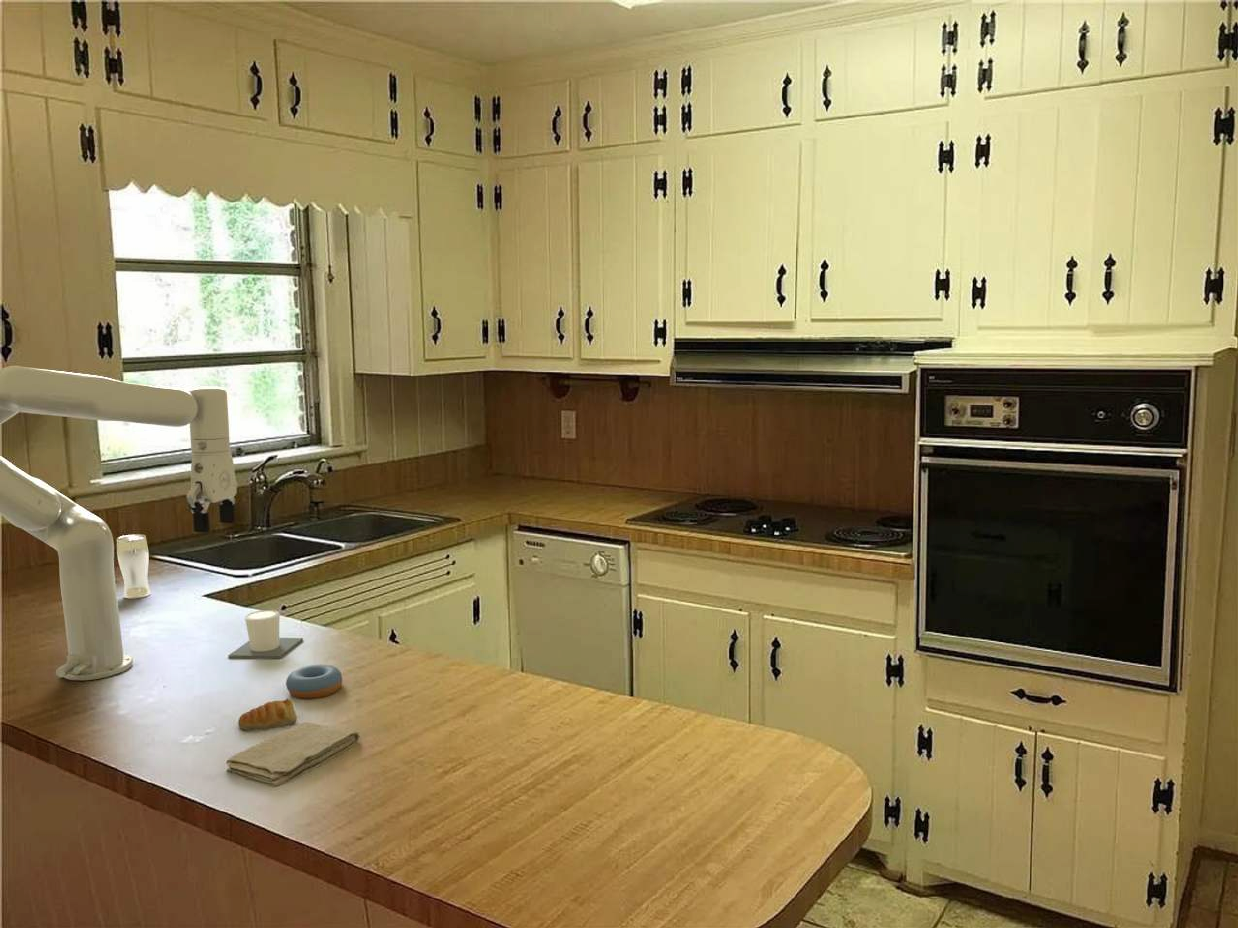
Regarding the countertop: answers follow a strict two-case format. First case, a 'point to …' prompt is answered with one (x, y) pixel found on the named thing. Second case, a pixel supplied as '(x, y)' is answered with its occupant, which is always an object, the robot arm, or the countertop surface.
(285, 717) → the pastry
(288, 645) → the mat
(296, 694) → the doughnut
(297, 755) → the washcloth
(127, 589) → the beer glass
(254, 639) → the white cup
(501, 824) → the countertop surface
